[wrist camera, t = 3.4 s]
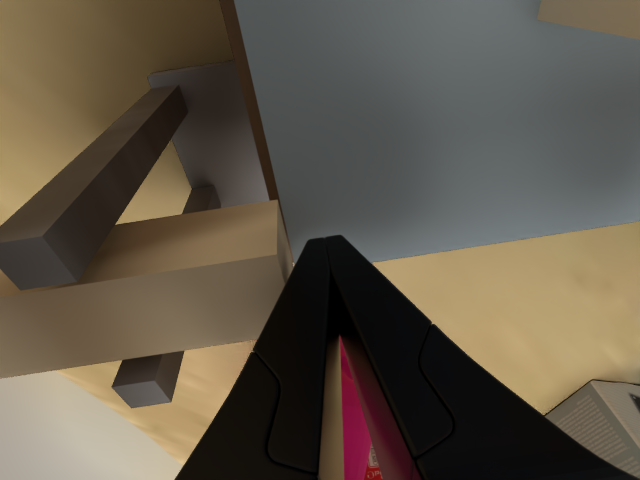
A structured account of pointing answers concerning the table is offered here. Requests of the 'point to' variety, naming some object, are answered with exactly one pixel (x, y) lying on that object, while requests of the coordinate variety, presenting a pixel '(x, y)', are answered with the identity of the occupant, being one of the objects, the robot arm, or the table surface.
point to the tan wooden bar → (153, 292)
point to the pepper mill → (353, 426)
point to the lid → (447, 118)
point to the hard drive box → (604, 422)
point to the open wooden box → (127, 176)
